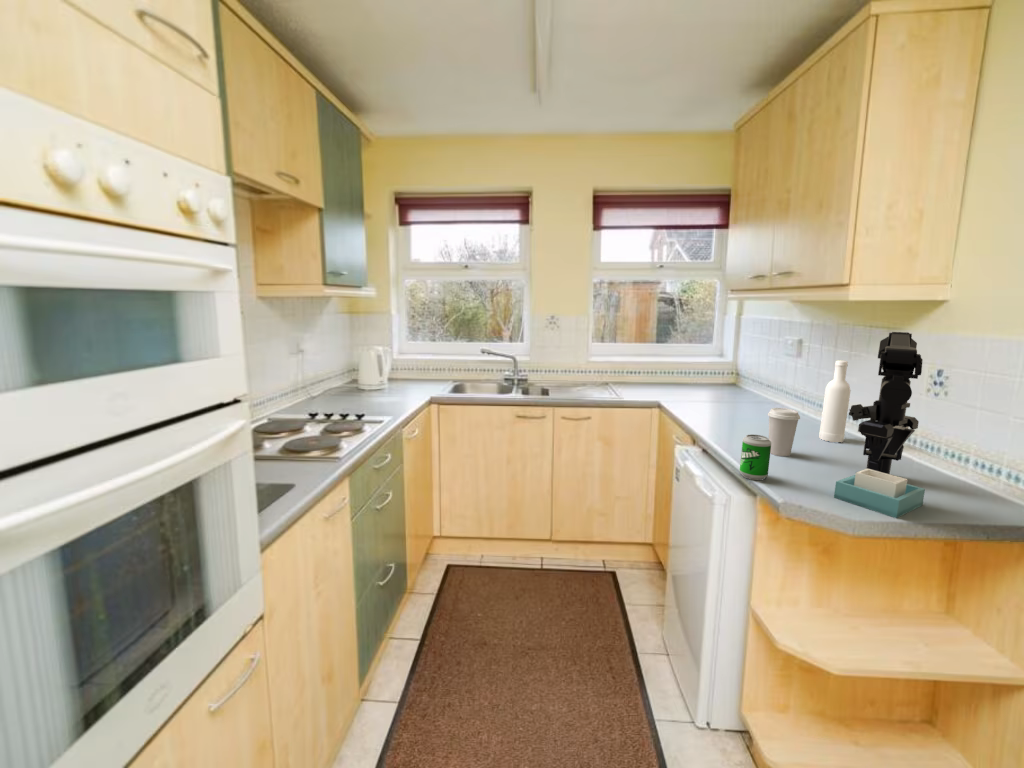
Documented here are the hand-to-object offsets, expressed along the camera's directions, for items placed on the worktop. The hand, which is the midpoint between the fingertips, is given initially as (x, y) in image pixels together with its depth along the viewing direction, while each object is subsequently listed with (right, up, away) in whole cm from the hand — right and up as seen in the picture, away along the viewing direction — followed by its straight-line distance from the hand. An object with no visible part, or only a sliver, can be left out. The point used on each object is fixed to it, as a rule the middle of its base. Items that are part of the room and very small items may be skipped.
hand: (883, 457), depth 126 cm
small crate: (0, -11, +2) cm, 11 cm away
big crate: (0, -12, +2) cm, 12 cm away
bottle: (+24, -2, +58) cm, 63 cm away
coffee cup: (-5, -5, +41) cm, 41 cm away
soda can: (-25, -9, +18) cm, 32 cm away
